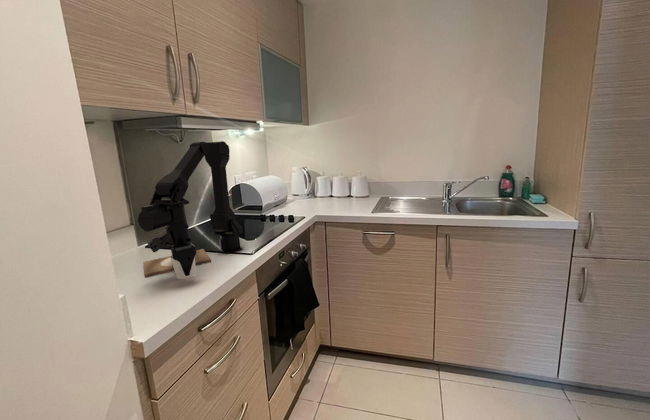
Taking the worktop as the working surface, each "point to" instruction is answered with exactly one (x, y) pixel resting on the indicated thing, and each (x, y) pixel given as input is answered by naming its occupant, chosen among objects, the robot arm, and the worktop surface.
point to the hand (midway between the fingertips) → (185, 270)
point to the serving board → (170, 264)
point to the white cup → (179, 269)
